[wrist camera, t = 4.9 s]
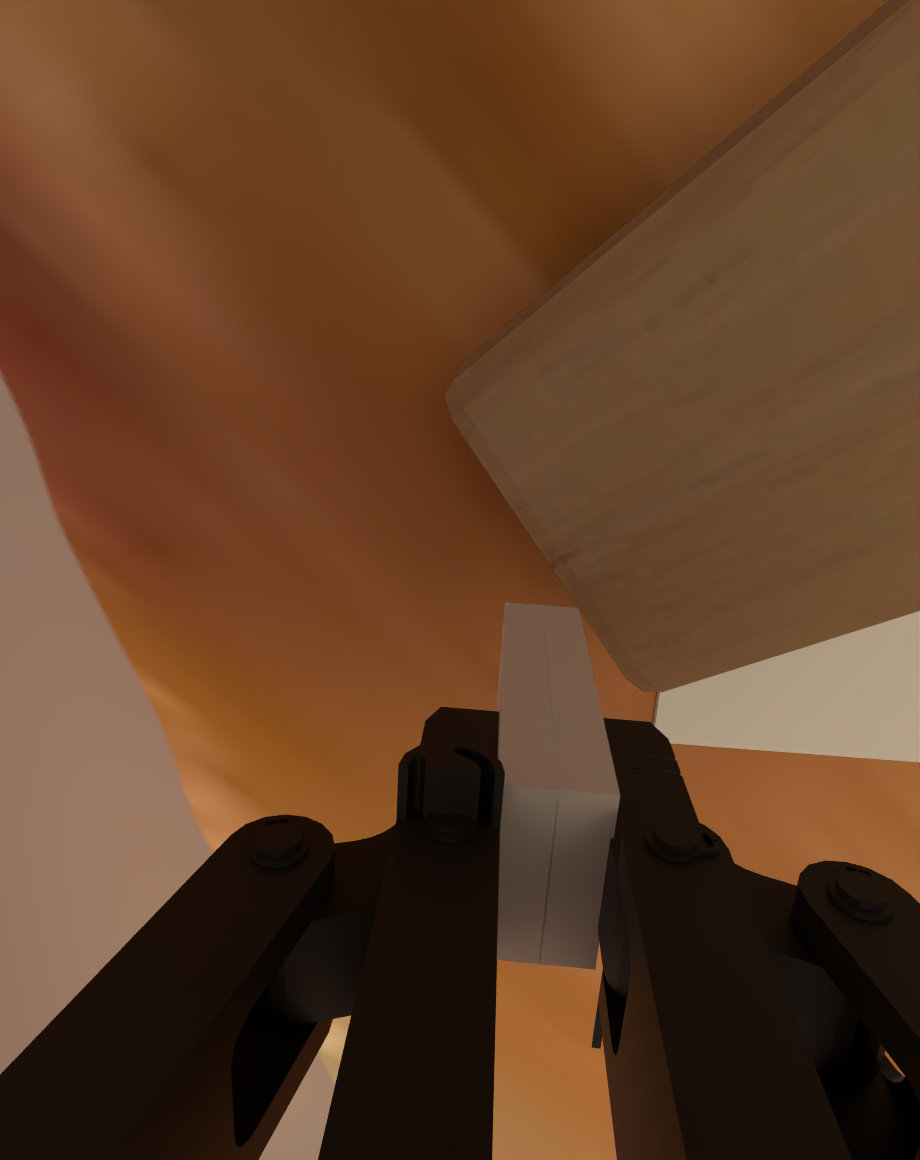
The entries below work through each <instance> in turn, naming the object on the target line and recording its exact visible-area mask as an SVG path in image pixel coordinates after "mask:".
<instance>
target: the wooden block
mask: <svg viewBox="0 0 920 1160" xmlns="http://www.w3.org/2000/svg"><path fill="white" fill-rule="evenodd" d="M444 396H445V399H446V403H447V406H448V410H449V413H450V416H451V419H452V421H453V422H454V424H455V425H456V427H457V428H458V430H459V431H460V433H461V434H462V436H463V437H464V439H465V440H466V442H467V443H468V445H469V446H470V448H471V449H472V451H473V452H474V454H475V455H476V457H477V458H478V460H479V461H480V462H481V464H482V465H483V467H484V468H485V470H486V471H487V473H488V474H489V476H490V477H491V479H492V480H493V482H494V483H495V485H496V486H497V488H498V489H499V491H500V492H501V494H502V495H503V497H504V498H505V500H506V501H507V503H508V504H509V506H510V507H511V509H512V510H513V512H514V513H515V515H516V516H517V517H518V519H519V520H520V522H521V523H522V525H523V526H524V528H525V529H526V531H527V532H528V534H529V535H530V537H531V538H532V540H533V541H534V543H535V544H536V546H537V547H538V549H539V550H540V552H541V553H542V555H543V556H544V558H545V559H546V561H547V562H548V564H549V565H550V567H551V568H552V570H553V571H554V572H555V574H556V575H557V577H558V578H559V580H560V581H561V583H562V584H563V586H564V587H565V589H566V590H567V592H568V593H569V595H570V596H571V598H572V599H573V601H574V602H575V604H576V605H577V607H578V608H579V610H580V611H581V613H582V614H583V616H584V617H585V619H586V620H587V622H588V623H589V625H590V626H591V627H592V629H593V630H594V632H595V633H596V635H597V636H598V638H599V639H600V641H601V642H602V644H603V645H604V647H605V648H606V650H607V651H608V653H609V654H610V656H611V657H612V659H613V660H614V662H615V663H616V665H617V666H618V668H619V669H620V671H621V672H622V674H623V675H624V677H625V678H626V679H628V680H629V681H630V682H632V683H633V684H634V685H635V686H637V687H638V688H639V689H641V690H642V691H648V692H664V691H668V690H671V689H674V688H677V687H680V686H683V685H687V684H690V683H693V682H696V681H699V680H702V679H706V678H709V677H712V676H715V675H718V674H722V673H725V672H728V671H731V670H734V669H737V668H741V667H744V666H747V665H750V664H753V663H756V662H760V661H763V660H766V659H769V658H772V657H775V656H779V655H782V654H785V653H788V652H791V651H794V650H798V649H801V648H804V647H807V646H810V645H813V644H817V643H820V642H823V641H826V640H829V639H832V638H836V637H839V636H842V635H845V634H848V633H852V632H855V631H858V630H861V629H864V628H867V627H871V626H874V625H877V624H880V623H883V622H886V621H890V620H893V619H896V618H899V617H902V616H905V615H909V614H912V613H915V612H918V611H920V0H889V1H888V2H887V3H886V4H885V5H883V6H882V7H881V8H880V9H879V10H877V11H876V12H875V13H874V14H873V15H872V16H870V17H869V18H868V19H867V20H866V21H865V22H863V23H862V24H861V25H860V26H859V27H857V28H856V29H855V30H854V31H853V32H852V33H850V34H849V35H848V36H847V37H846V38H844V39H843V40H842V41H841V42H840V43H839V44H837V45H836V46H835V47H834V48H833V49H831V50H830V51H829V52H828V53H827V54H826V55H824V56H823V57H822V58H821V59H820V60H818V61H817V62H816V63H815V64H814V65H813V66H811V67H810V68H809V69H808V70H807V71H805V72H804V73H803V74H802V75H801V76H800V77H798V78H797V79H796V80H795V81H794V82H793V83H791V84H790V85H789V86H788V87H787V88H785V89H784V90H783V91H782V92H781V93H780V94H778V95H777V96H776V97H775V98H774V99H772V100H771V101H770V102H769V103H768V104H767V105H765V106H764V107H763V108H762V109H761V110H759V111H758V112H757V113H756V114H755V115H754V116H752V117H751V118H750V119H749V120H748V121H746V122H745V123H744V124H743V125H742V126H741V127H739V128H738V129H737V130H736V131H735V132H733V133H732V134H731V135H730V136H729V137H728V138H726V139H725V140H724V141H723V142H722V143H721V144H719V145H718V146H717V147H716V148H715V149H713V150H712V151H711V152H710V153H709V154H708V155H706V156H705V157H704V158H703V159H702V160H700V161H699V162H698V163H697V164H696V165H695V166H693V167H692V168H691V169H690V170H689V171H687V172H686V173H685V174H684V175H683V176H682V177H680V178H679V179H678V180H677V181H676V182H674V183H673V184H672V185H671V186H670V187H669V188H667V189H666V190H665V191H664V192H663V193H661V194H660V195H659V196H658V197H657V198H656V199H654V200H653V201H652V202H651V203H650V204H649V205H647V206H646V207H645V208H644V209H643V210H641V211H640V212H639V213H638V214H637V215H636V216H634V217H633V218H632V219H631V220H630V221H628V222H627V223H626V224H625V225H624V226H623V227H621V228H620V229H619V230H618V231H617V232H615V233H614V234H613V235H612V236H611V237H610V238H608V239H607V240H606V241H605V242H604V243H602V244H601V245H600V246H599V247H598V248H597V249H595V250H594V251H593V252H592V253H591V254H589V255H588V256H587V257H586V258H585V259H584V260H582V261H581V262H580V263H579V264H578V265H577V266H575V267H574V268H573V269H572V270H571V271H569V272H568V273H567V274H566V275H565V276H564V277H562V278H561V279H560V280H559V281H558V282H556V283H555V284H554V285H553V286H552V287H551V288H549V289H548V290H547V291H546V292H545V293H543V294H542V295H541V296H540V297H539V298H538V299H536V300H535V301H534V302H533V303H532V304H530V305H529V306H528V307H527V308H526V309H525V310H523V311H522V312H521V313H520V314H519V315H517V316H516V317H515V318H514V319H513V320H512V321H510V322H509V323H508V324H507V325H506V326H505V327H503V328H502V329H501V330H500V331H499V332H497V333H496V334H495V335H494V336H493V337H492V338H490V339H489V340H488V341H487V342H486V343H484V344H483V345H482V346H481V347H480V348H479V349H477V350H476V351H475V352H474V353H473V354H471V355H470V356H469V357H468V358H467V359H466V360H464V361H463V362H462V363H461V365H460V367H459V369H458V372H457V374H456V376H455V378H454V380H453V382H452V383H451V385H450V387H449V389H448V390H447V392H446V394H445V395H444Z"/></svg>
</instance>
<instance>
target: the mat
mask: <svg viewBox="0 0 920 1160" xmlns="http://www.w3.org/2000/svg"><path fill="white" fill-rule="evenodd" d="M653 725H654V726H655V727H656V728H657V729H658V730H659V731H660V732H662V733H663V734H664V735H665V736H666V737H667V738H668V739H669V742H670V743H672V744H685V745H699V746H712V747H725V748H738V749H752V750H765V751H778V752H791V753H804V754H818V755H831V756H844V757H857V758H870V759H884V760H897V761H910V762H920V611H918V612H915V613H912V614H909V615H905V616H902V617H899V618H896V619H893V620H890V621H886V622H883V623H880V624H877V625H874V626H871V627H867V628H864V629H861V630H858V631H855V632H852V633H848V634H845V635H842V636H839V637H836V638H832V639H829V640H826V641H823V642H820V643H817V644H813V645H810V646H807V647H804V648H801V649H798V650H794V651H791V652H788V653H785V654H782V655H779V656H775V657H772V658H769V659H766V660H763V661H760V662H756V663H753V664H750V665H747V666H744V667H741V668H737V669H734V670H731V671H728V672H725V673H722V674H718V675H715V676H712V677H709V678H706V679H702V680H699V681H696V682H693V683H690V684H687V685H683V686H680V687H677V688H674V689H671V690H668V691H664V692H657V699H656V706H655V713H654V720H653Z"/></svg>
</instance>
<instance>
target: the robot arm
mask: <svg viewBox="0 0 920 1160" xmlns="http://www.w3.org/2000/svg"><path fill="white" fill-rule="evenodd" d="M599 942H600V950H601V957H602V964H603V972H602V978H601V985H600V992H599V999H598V1006H597V1012H596V1019H595V1026H594V1033H593V1041H592V1048H600V1047H601V1041H602V1037H603V1045H604V1054H605V1062H606V1071H607V1079H608V1088H609V1096H610V1104H611V1113H612V1121H613V1130H614V1138H615V1147H616V1155H617V1160H920V903H918V902H917V901H916V900H915V899H914V898H913V897H912V896H911V895H910V894H909V893H908V892H907V891H905V890H904V889H903V888H901V887H900V886H899V885H898V884H896V883H895V882H894V881H893V880H891V879H889V878H887V877H885V876H883V875H881V874H879V873H877V872H875V871H873V870H871V869H869V868H866V867H863V866H860V865H859V866H858V865H856V864H851V863H848V862H838V861H822V862H818V863H814V864H810V865H808V866H807V867H806V868H805V869H804V870H803V871H802V872H801V873H800V875H799V880H798V884H797V886H796V885H793V884H789V883H786V882H783V881H779V880H776V879H773V878H769V877H766V876H763V875H760V874H757V873H754V872H752V871H749V870H746V869H744V868H742V867H740V866H738V865H737V864H735V863H734V862H733V859H732V857H731V854H730V852H729V849H728V848H727V846H726V845H725V843H724V842H723V841H722V839H721V838H720V836H718V835H717V834H716V833H714V832H713V831H712V830H710V829H709V828H708V827H706V826H705V825H703V824H701V823H699V821H698V818H697V816H696V813H695V810H694V807H693V805H692V802H691V799H690V797H689V794H688V791H687V788H686V786H685V783H684V780H683V777H682V776H680V769H679V766H678V764H677V761H675V755H674V753H673V750H672V747H671V745H670V742H669V739H668V738H667V737H666V736H665V735H664V734H663V733H662V732H660V731H659V730H658V729H657V728H656V727H655V726H654V725H653V724H652V723H651V722H644V721H632V720H620V719H607V718H603V715H602V711H601V706H600V702H599V697H598V693H597V688H596V684H595V679H594V674H593V670H592V665H591V661H590V656H589V652H588V647H587V643H586V638H585V634H584V629H583V625H582V620H581V616H580V611H579V608H573V607H560V606H547V605H534V604H521V603H508V602H505V609H504V621H503V633H502V646H501V658H500V671H499V683H498V695H497V708H496V711H485V710H472V709H460V708H448V707H440V708H439V709H438V710H437V711H436V712H435V713H434V714H433V715H431V716H430V717H429V718H428V719H427V720H426V721H425V726H424V730H423V735H422V741H421V744H420V745H419V746H417V747H416V748H414V749H412V750H410V751H409V752H407V753H405V755H404V756H403V758H402V760H401V761H400V763H399V768H398V795H397V821H396V824H395V825H394V826H393V827H391V828H390V829H388V830H387V831H385V832H383V833H381V834H378V835H376V836H373V837H371V838H366V839H362V840H357V841H351V842H343V843H335V844H334V841H333V836H332V834H331V833H330V832H329V831H328V830H327V829H326V828H325V827H324V825H323V824H321V823H319V822H317V821H314V820H312V819H309V818H307V817H303V816H294V815H278V816H270V817H264V818H261V819H259V820H256V821H253V822H250V823H248V824H245V825H244V826H243V827H241V828H240V829H239V830H237V831H236V832H234V833H233V834H232V835H231V836H230V837H229V838H228V839H227V840H226V841H225V842H224V843H223V844H222V845H221V846H220V847H219V848H218V849H217V850H216V851H215V852H214V853H213V854H212V855H211V856H210V857H209V858H208V859H207V860H206V861H205V863H204V864H203V865H202V866H201V867H200V868H199V869H198V870H197V871H196V872H195V873H194V874H193V875H192V876H191V877H190V878H189V879H188V880H187V881H186V882H185V883H184V884H183V885H182V886H181V888H179V890H178V891H177V892H176V893H175V894H174V895H173V896H172V897H171V898H170V899H169V900H168V901H167V902H166V903H165V904H164V905H163V906H162V907H161V908H160V909H159V910H158V911H157V912H156V913H155V915H154V916H153V917H152V918H151V919H150V920H149V921H148V922H147V923H146V924H145V925H144V926H143V927H142V928H141V929H140V930H139V931H138V932H137V933H136V934H135V935H134V936H133V937H132V938H131V939H130V941H128V942H127V943H126V945H125V946H124V947H123V948H122V949H121V950H120V951H119V952H118V953H117V954H116V955H115V956H114V957H113V958H112V959H111V960H110V961H109V962H108V963H107V964H106V965H105V966H104V967H103V968H102V969H101V970H100V972H99V973H98V974H97V975H96V976H95V977H94V978H93V979H92V980H91V981H90V982H89V983H88V984H87V985H86V986H85V987H84V988H83V989H82V990H81V991H80V992H79V993H78V994H77V995H76V996H75V997H74V999H73V1000H72V1001H71V1002H70V1003H69V1004H68V1005H67V1006H66V1007H65V1008H64V1009H63V1010H62V1011H61V1012H60V1013H59V1014H58V1015H57V1016H56V1017H55V1018H54V1019H53V1020H52V1021H51V1022H50V1023H49V1024H48V1026H47V1027H46V1028H45V1029H44V1030H43V1031H42V1032H41V1033H40V1034H39V1035H38V1036H37V1037H36V1038H35V1039H34V1040H33V1041H32V1042H31V1043H30V1044H29V1045H28V1046H27V1047H26V1048H25V1049H24V1050H23V1052H22V1053H21V1054H20V1055H19V1056H18V1057H17V1058H16V1059H15V1060H14V1061H13V1062H12V1063H11V1064H10V1065H9V1066H8V1067H7V1068H6V1069H5V1070H4V1071H3V1072H2V1074H0V1160H259V1158H260V1156H261V1154H262V1152H263V1151H264V1148H265V1147H266V1145H267V1143H268V1141H269V1139H270V1138H271V1136H272V1134H273V1133H274V1131H275V1129H276V1127H277V1125H278V1123H279V1122H280V1120H281V1118H282V1116H283V1114H284V1113H285V1111H286V1109H287V1107H288V1105H289V1104H290V1102H291V1100H292V1098H293V1096H294V1095H295V1093H296V1091H297V1089H298V1087H299V1085H300V1084H301V1082H302V1080H303V1078H304V1076H305V1075H306V1073H307V1071H308V1069H309V1067H310V1066H311V1064H312V1062H313V1060H314V1058H315V1056H316V1055H317V1053H318V1051H319V1049H320V1047H321V1046H322V1044H323V1042H324V1040H325V1038H326V1037H327V1035H328V1033H329V1030H330V1027H331V1023H332V1020H333V1019H335V1018H340V1017H345V1016H350V1015H351V1019H350V1024H349V1028H348V1032H347V1037H346V1041H345V1045H344V1050H343V1054H342V1058H341V1063H340V1067H339V1071H338V1076H337V1080H336V1084H335V1089H334V1093H333V1097H332V1102H331V1106H330V1111H329V1114H328V1119H327V1123H326V1127H325V1132H324V1136H323V1140H322V1145H321V1149H320V1153H319V1158H318V1160H492V1140H493V1099H494V1059H495V1018H496V977H497V960H504V961H514V962H525V963H535V964H545V965H555V966H566V967H576V968H586V969H595V967H596V960H597V953H598V946H599ZM885 1051H887V1053H888V1054H889V1055H890V1057H891V1058H892V1059H893V1061H894V1062H895V1063H896V1065H897V1066H898V1067H899V1069H900V1070H901V1071H902V1072H903V1074H904V1075H905V1077H903V1076H902V1075H901V1074H900V1073H899V1072H898V1071H897V1070H896V1069H895V1067H894V1066H893V1065H892V1063H891V1062H890V1061H889V1060H888V1058H887V1057H886V1056H885Z"/></svg>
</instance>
